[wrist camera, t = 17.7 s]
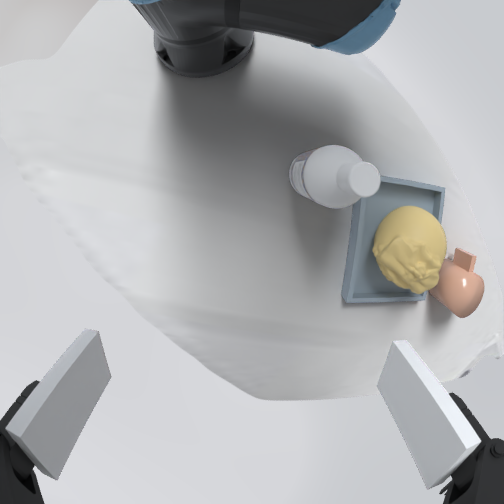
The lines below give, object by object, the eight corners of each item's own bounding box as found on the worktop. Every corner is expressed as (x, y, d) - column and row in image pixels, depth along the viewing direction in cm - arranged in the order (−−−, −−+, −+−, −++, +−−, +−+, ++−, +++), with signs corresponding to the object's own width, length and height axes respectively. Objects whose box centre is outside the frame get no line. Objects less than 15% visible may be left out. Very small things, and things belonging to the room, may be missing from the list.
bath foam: (340, 161, 39) (411, 159, 20) (324, 204, 41) (385, 234, 21) (297, 144, 38) (340, 122, 19) (281, 188, 40) (312, 204, 21)
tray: (355, 172, 39) (363, 173, 36) (435, 186, 40) (445, 187, 37) (341, 294, 45) (346, 302, 42) (417, 293, 45) (424, 300, 42)
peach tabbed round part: (423, 297, 46) (448, 319, 37) (435, 243, 43) (465, 258, 34) (451, 296, 46) (476, 315, 37) (463, 245, 43) (492, 259, 34)
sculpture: (350, 248, 42) (379, 272, 31) (393, 188, 39) (432, 195, 29) (394, 285, 44) (425, 314, 33) (433, 231, 41) (472, 248, 31)
